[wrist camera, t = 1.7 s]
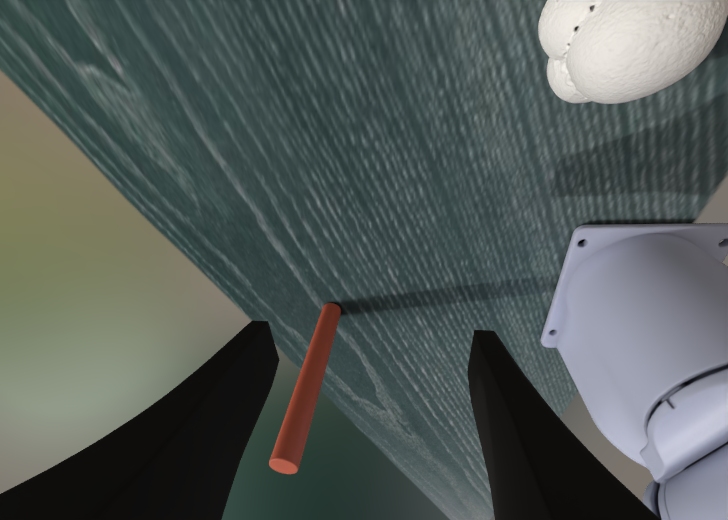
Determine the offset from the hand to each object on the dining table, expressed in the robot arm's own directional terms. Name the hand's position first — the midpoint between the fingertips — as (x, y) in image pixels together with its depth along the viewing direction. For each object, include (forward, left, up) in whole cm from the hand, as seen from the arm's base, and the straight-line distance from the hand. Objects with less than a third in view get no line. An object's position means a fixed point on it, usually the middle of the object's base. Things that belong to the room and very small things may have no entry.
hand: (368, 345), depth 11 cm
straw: (-7, +4, -10) cm, 13 cm away
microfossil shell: (+9, -9, -10) cm, 16 cm away
